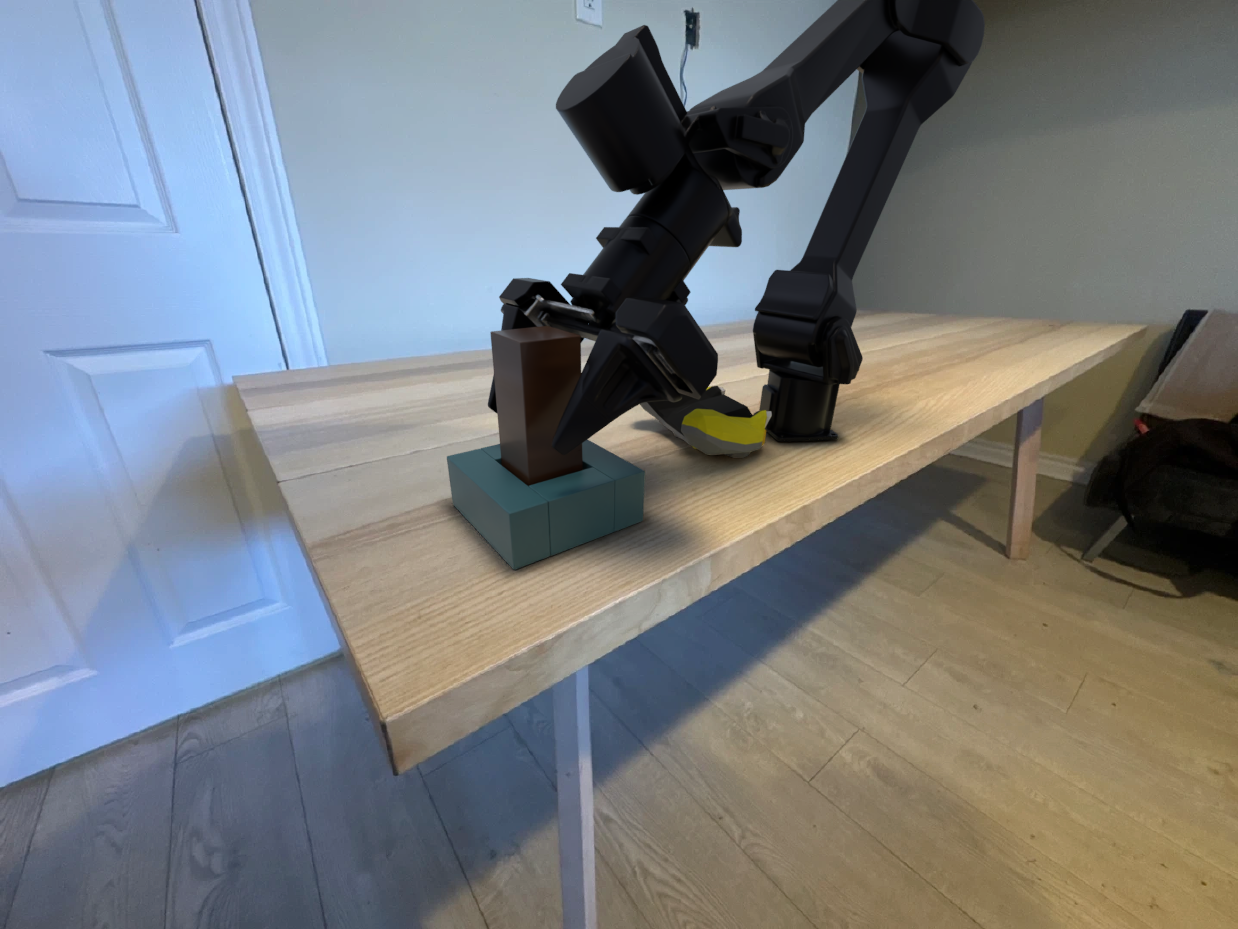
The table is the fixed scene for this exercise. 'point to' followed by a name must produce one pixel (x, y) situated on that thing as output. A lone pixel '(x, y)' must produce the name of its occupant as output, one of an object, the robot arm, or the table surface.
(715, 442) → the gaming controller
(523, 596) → the table surface
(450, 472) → the base pad
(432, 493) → the table surface
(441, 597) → the table surface
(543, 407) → the pad post
